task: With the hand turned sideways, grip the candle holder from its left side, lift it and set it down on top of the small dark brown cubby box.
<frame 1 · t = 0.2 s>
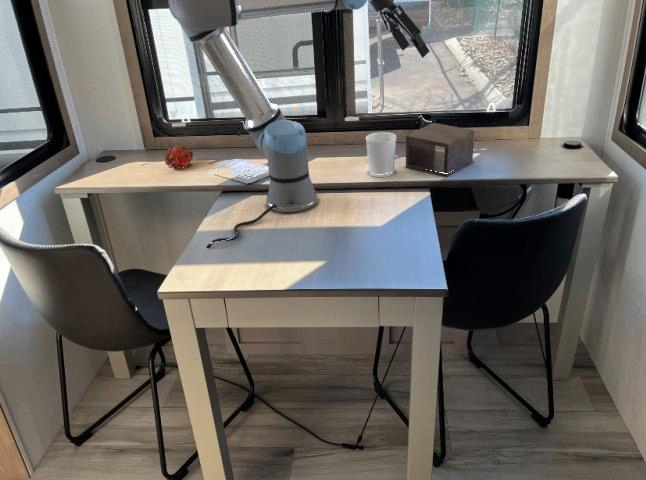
hand: (415, 50, 183), 36 cm above the table, tool tilted 35°, fingers open, 13 cm apart
dark brown cubby box: (439, 164, 198), on the table
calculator: (242, 173, 203), on the table
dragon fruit: (181, 167, 212), on the table
candle holder: (381, 173, 196), on the table
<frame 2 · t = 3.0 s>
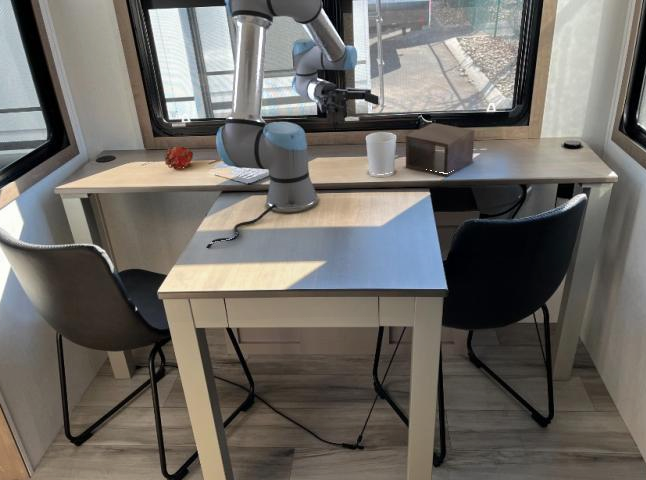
hand: (361, 106, 190), 20 cm above the table, tool horizontal, fingers open, 13 cm apart
nothing on the table moved.
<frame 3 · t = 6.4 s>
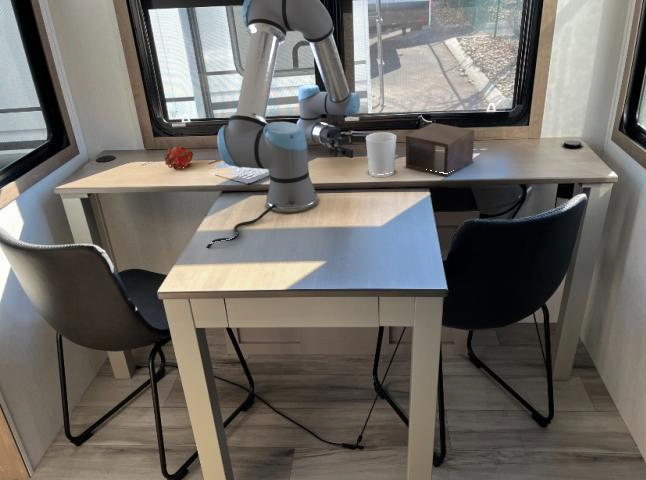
hand: (367, 148, 196), 7 cm above the table, tool horizontal, fingers open, 13 cm apart
nothing on the table moved.
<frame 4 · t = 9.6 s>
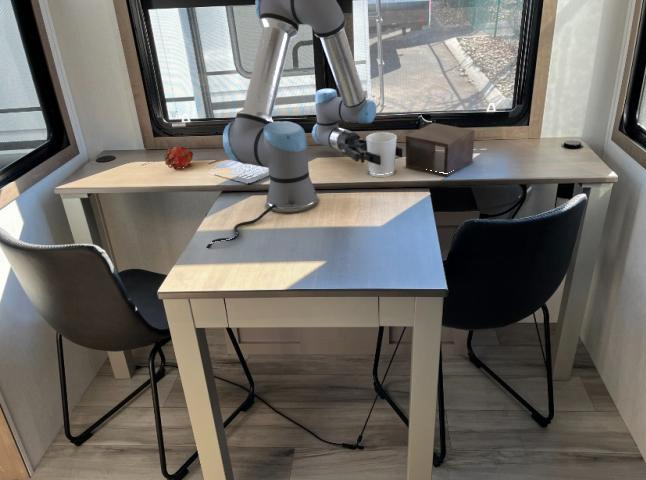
hand: (390, 156, 189), 7 cm above the table, tool horizontal, fingers closed on candle holder, 9 cm apart
candle holder: (381, 173, 196), on the table, touching gripper
everything else where it was.
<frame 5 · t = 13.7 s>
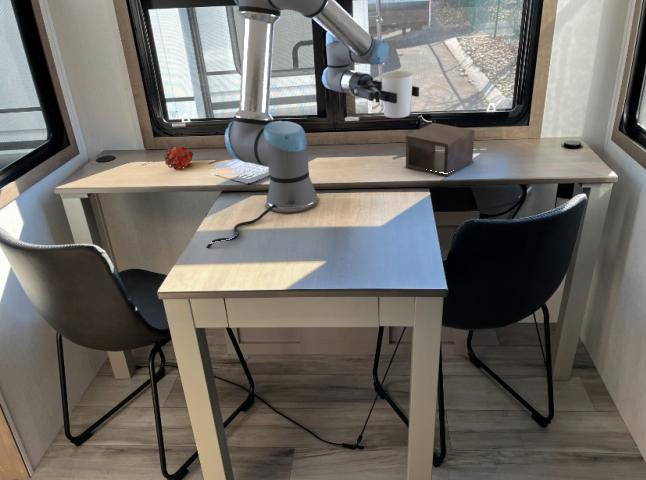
hand: (407, 95, 180), 25 cm above the table, tool horizontal, fingers closed on candle holder, 9 cm apart
candle holder: (397, 114, 186), point 18 cm above the table, touching gripper
everything else where it was.
when the fingers open (17 cm above the table, at t = 18.2 s): candle holder stays where it is, resting on dark brown cubby box.
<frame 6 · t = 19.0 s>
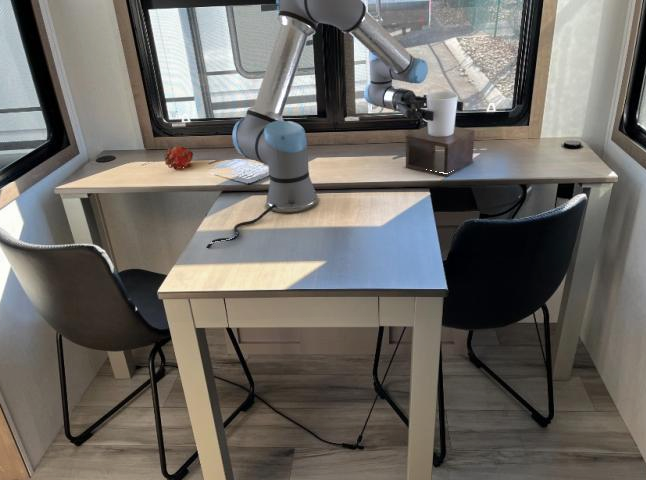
hand: (447, 111, 186), 18 cm above the table, tool horizontal, fingers open, 13 cm apart
candle holder: (440, 133, 193), point 11 cm above the table, touching dark brown cubby box
everything else where it was.
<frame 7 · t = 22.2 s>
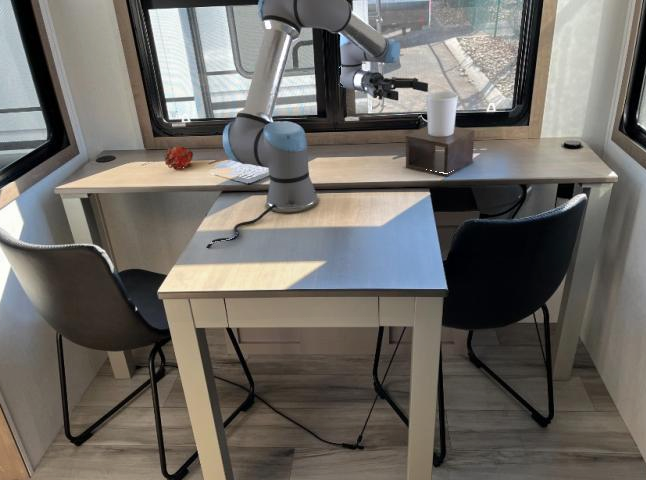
hand: (412, 91, 194), 22 cm above the table, tool horizontal, fingers open, 13 cm apart
nothing on the table moved.
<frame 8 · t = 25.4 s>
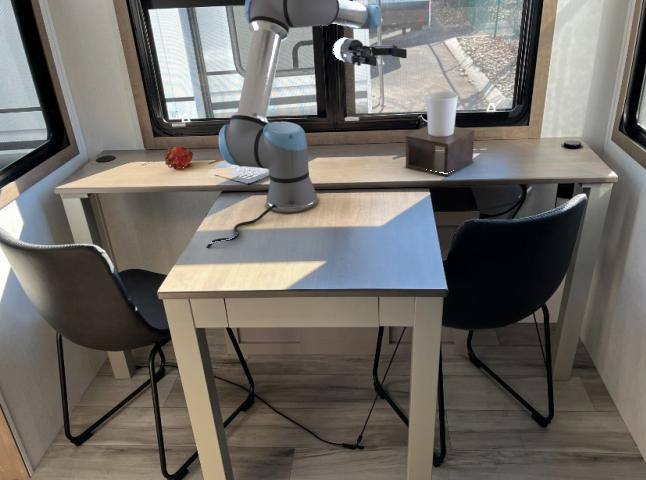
hand: (391, 57, 194), 32 cm above the table, tool horizontal, fingers open, 13 cm apart
nothing on the table moved.
at the end: candle holder inside the target area on the dark brown cubby box (0.1 cm from its centre), point 10.6 cm above the dark brown cubby box's base; candle holder tilted 0°; the gripper is holding nothing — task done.
